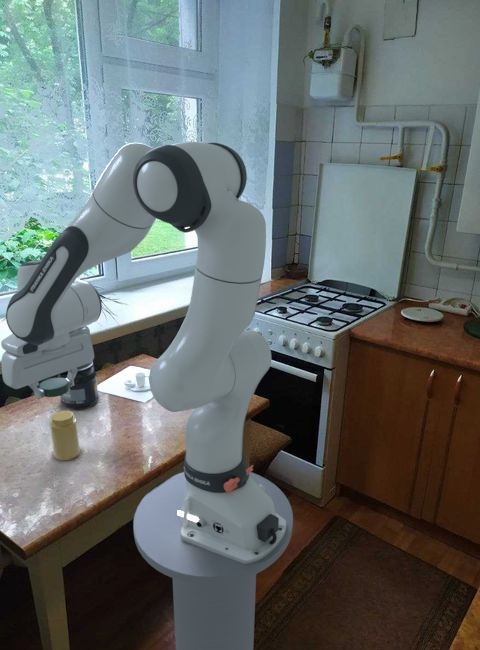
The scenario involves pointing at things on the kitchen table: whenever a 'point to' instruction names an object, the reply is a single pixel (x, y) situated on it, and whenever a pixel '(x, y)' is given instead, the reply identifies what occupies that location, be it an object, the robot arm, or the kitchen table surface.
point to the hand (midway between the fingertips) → (55, 391)
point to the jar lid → (55, 387)
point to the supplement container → (81, 388)
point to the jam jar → (64, 435)
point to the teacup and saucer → (129, 384)
